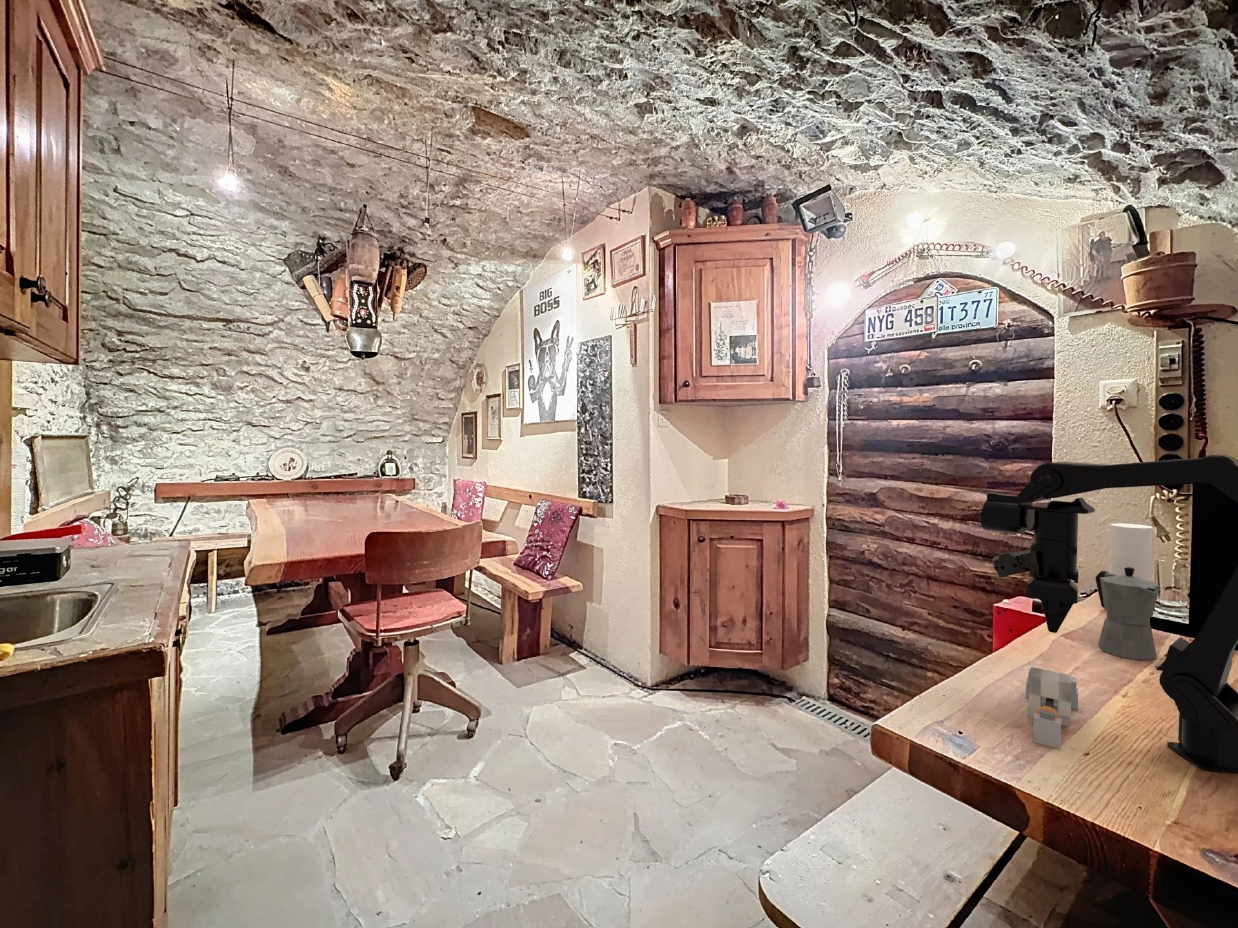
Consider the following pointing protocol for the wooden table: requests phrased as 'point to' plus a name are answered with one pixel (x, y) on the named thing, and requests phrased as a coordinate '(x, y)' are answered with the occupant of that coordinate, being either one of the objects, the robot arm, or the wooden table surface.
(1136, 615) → the coffeepot
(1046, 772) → the wooden table surface
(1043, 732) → the cord rig
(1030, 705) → the sleeve
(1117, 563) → the cylindrical container
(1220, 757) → the robot arm
